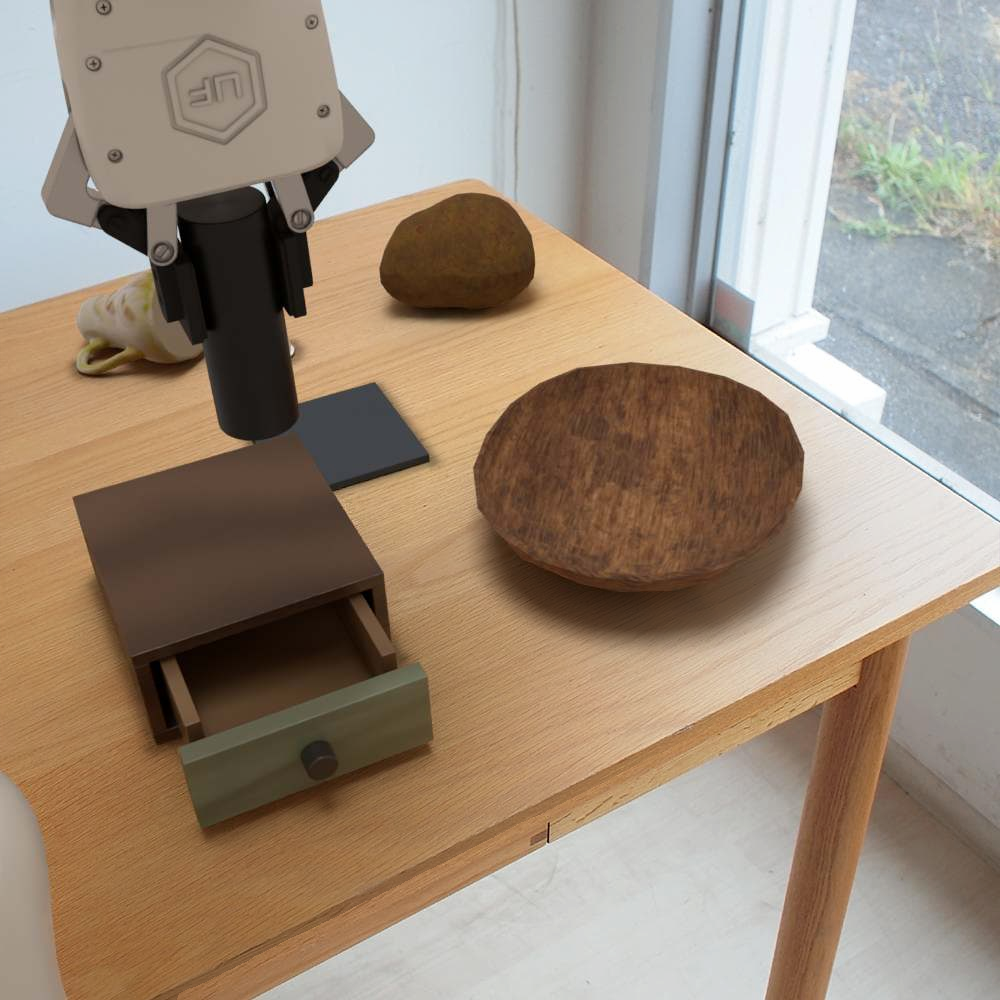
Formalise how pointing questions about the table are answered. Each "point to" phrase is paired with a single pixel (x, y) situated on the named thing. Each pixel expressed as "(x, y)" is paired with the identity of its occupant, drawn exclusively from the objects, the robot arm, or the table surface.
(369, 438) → the mat
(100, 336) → the mug
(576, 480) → the bowl
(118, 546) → the cabinet
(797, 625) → the table surface
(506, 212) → the potato
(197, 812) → the drawer
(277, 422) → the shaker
